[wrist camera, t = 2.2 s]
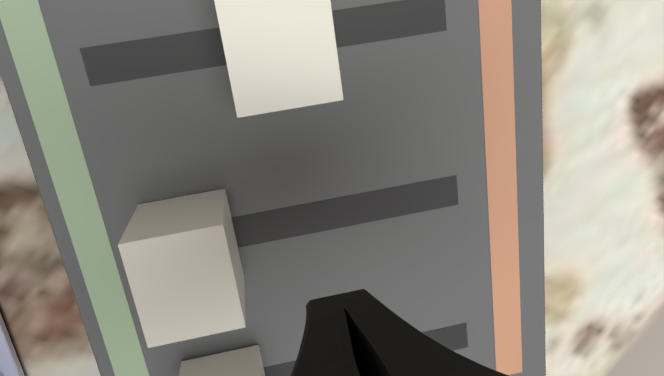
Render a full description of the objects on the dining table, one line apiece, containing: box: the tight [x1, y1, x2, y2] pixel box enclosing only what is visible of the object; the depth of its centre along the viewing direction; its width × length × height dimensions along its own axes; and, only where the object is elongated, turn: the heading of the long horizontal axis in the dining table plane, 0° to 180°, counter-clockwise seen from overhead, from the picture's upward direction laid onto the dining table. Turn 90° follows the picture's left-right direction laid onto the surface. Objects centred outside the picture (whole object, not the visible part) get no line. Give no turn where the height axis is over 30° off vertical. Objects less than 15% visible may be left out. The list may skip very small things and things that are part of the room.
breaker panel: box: [0, 0, 546, 376], centre depth 21 cm, size 18×20×2 cm
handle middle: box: [118, 189, 246, 348], centre depth 18 cm, size 3×4×4 cm
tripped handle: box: [214, 0, 343, 118], centre depth 16 cm, size 3×4×4 cm
